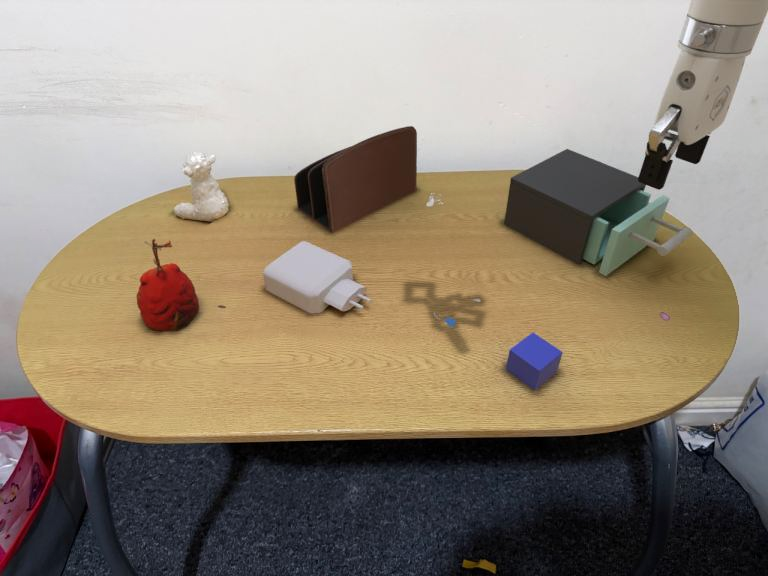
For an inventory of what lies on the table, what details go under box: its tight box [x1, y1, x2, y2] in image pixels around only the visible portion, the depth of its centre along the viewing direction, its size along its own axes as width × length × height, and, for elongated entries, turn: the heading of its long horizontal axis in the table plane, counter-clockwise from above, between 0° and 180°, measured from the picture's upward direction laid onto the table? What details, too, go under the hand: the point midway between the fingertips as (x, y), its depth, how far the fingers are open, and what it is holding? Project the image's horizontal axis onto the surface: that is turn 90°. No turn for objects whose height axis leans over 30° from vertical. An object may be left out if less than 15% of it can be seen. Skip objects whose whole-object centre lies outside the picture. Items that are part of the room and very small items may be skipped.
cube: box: [505, 332, 564, 391], centre depth 64 cm, size 4×4×4 cm
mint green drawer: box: [582, 190, 693, 277], centre depth 81 cm, size 19×13×8 cm
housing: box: [503, 148, 647, 266], centre depth 86 cm, size 15×15×10 cm
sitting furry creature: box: [173, 151, 230, 223], centre depth 91 cm, size 10×9×12 cm
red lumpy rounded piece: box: [136, 238, 200, 332], centre depth 70 cm, size 8×7×15 cm
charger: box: [262, 240, 372, 315], centre depth 76 cm, size 5×9×15 cm
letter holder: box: [293, 125, 418, 233], centre depth 92 cm, size 10×20×14 cm, turn 132°
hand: (668, 172), depth 71 cm, fingers open, 9 cm apart
